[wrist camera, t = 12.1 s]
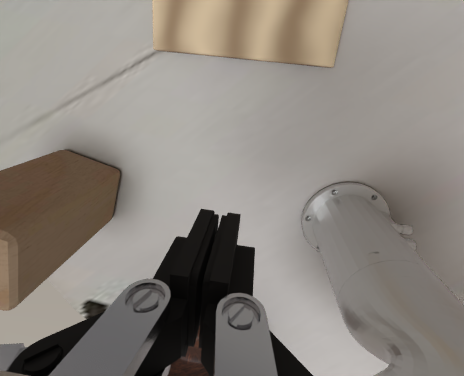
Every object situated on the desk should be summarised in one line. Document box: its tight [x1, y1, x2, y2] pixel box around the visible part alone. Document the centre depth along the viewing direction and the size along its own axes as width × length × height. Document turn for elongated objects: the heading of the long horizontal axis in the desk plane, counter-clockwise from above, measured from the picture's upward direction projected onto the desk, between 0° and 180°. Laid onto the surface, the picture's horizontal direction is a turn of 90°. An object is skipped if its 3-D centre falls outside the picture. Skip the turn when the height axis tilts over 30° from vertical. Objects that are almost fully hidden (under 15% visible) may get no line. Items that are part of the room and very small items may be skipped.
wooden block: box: [0, 150, 120, 310], centre depth 33 cm, size 10×10×20 cm
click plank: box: [152, 0, 348, 68], centre depth 30 cm, size 22×10×1 cm, turn 85°
